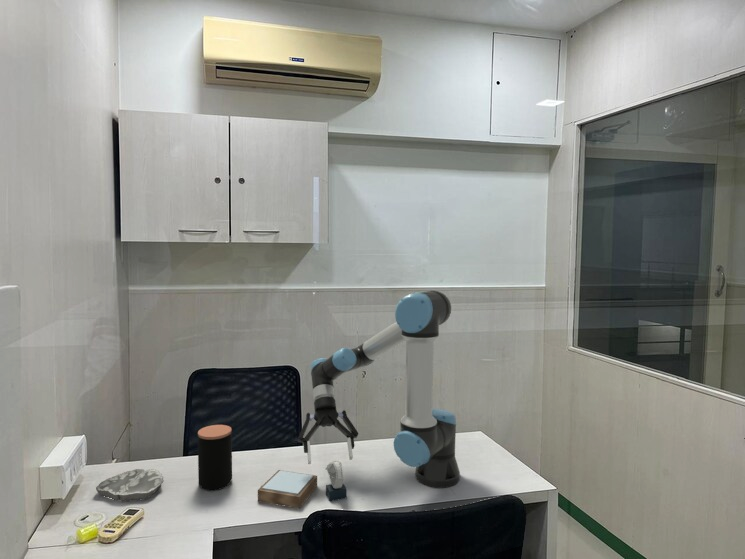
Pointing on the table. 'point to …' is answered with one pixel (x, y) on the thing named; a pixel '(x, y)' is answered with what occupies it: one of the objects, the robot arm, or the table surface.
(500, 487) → the table surface
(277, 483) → the walnut plinth
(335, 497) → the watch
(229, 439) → the coffee jar
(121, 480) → the brain slice
